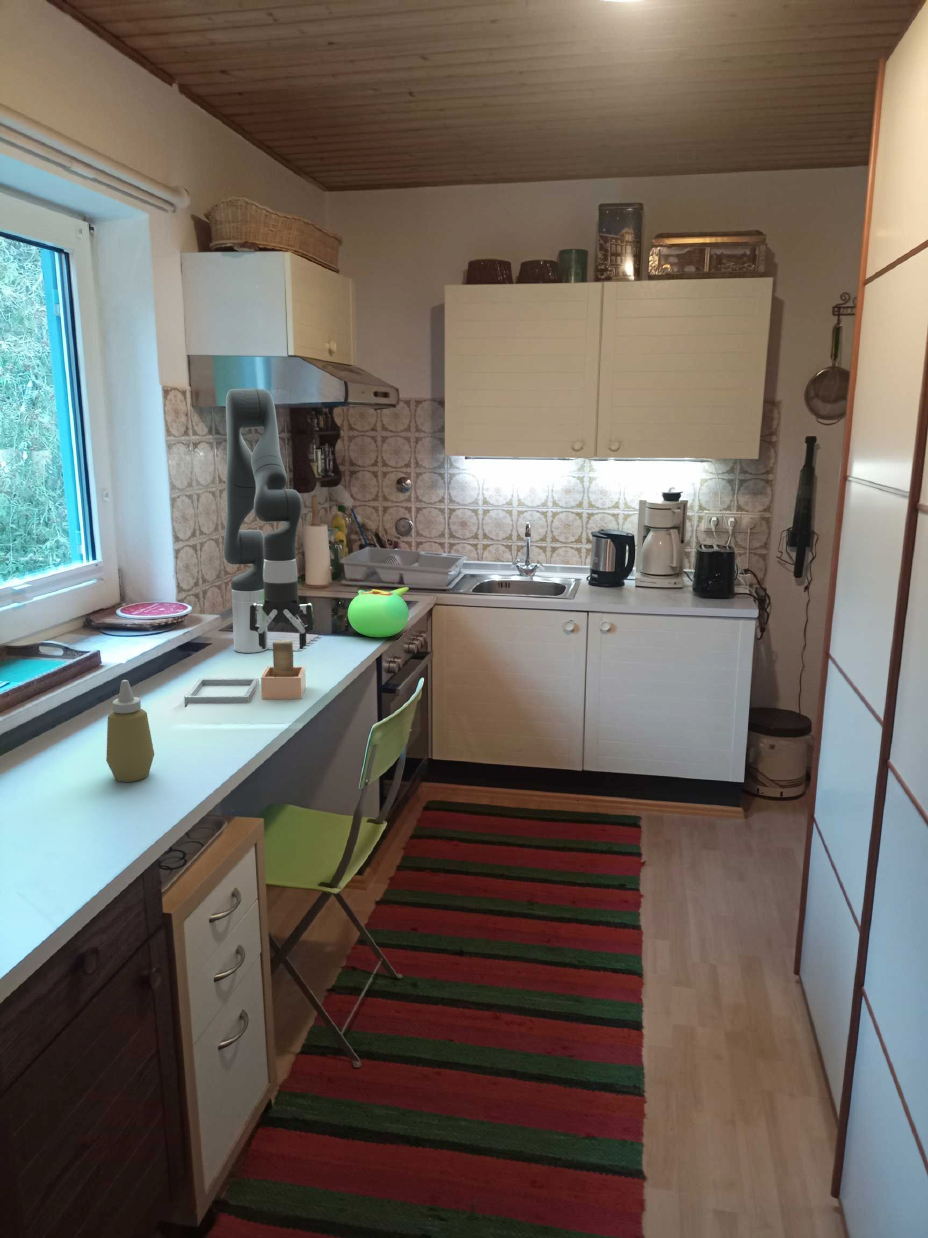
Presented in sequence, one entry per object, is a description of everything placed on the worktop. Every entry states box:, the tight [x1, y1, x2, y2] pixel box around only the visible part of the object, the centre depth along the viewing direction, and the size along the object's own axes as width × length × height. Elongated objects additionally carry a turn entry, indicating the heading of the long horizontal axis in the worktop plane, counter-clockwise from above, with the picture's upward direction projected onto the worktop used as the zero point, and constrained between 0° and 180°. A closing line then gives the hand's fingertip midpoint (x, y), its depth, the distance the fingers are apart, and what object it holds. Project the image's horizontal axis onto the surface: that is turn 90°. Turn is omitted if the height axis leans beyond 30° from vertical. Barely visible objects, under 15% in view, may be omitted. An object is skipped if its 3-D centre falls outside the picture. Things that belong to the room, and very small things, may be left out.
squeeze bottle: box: [105, 679, 155, 783], centre depth 154 cm, size 8×8×18 cm
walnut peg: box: [272, 639, 294, 677], centre depth 199 cm, size 4×4×12 cm
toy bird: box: [347, 587, 410, 638], centre depth 256 cm, size 18×17×15 cm
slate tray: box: [184, 677, 260, 708], centre depth 200 cm, size 14×14×2 cm
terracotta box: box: [260, 666, 307, 700], centre depth 200 cm, size 9×9×6 cm
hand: (282, 648), depth 198 cm, fingers open, 8 cm apart
